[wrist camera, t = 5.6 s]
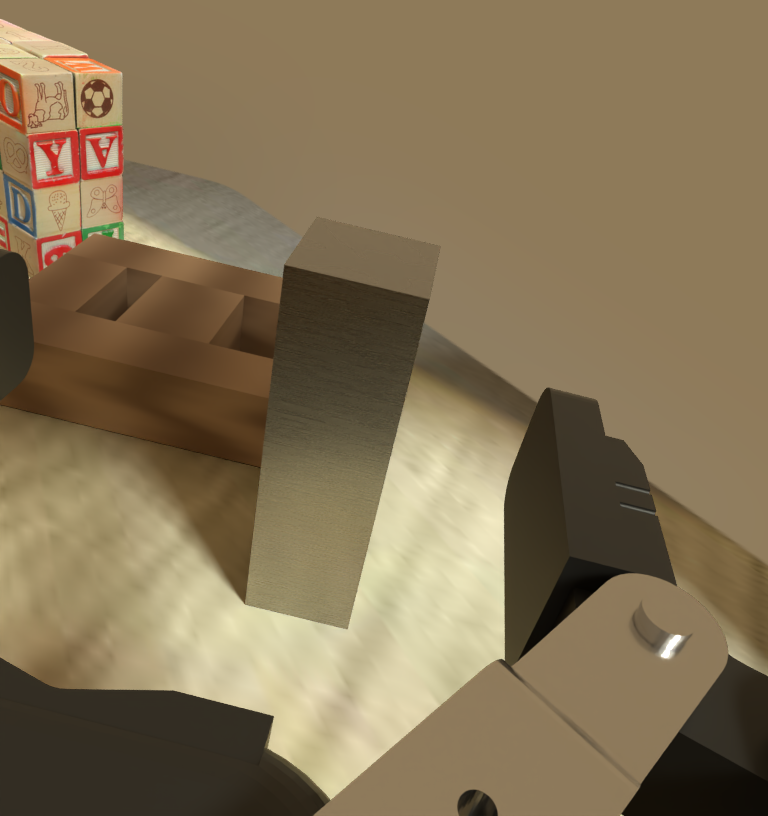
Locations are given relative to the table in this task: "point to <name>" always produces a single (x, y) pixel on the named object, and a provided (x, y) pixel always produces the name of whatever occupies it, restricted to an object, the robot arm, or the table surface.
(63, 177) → the stack of blocks
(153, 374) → the plate
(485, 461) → the table surface
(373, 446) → the square bar
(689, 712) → the robot arm
